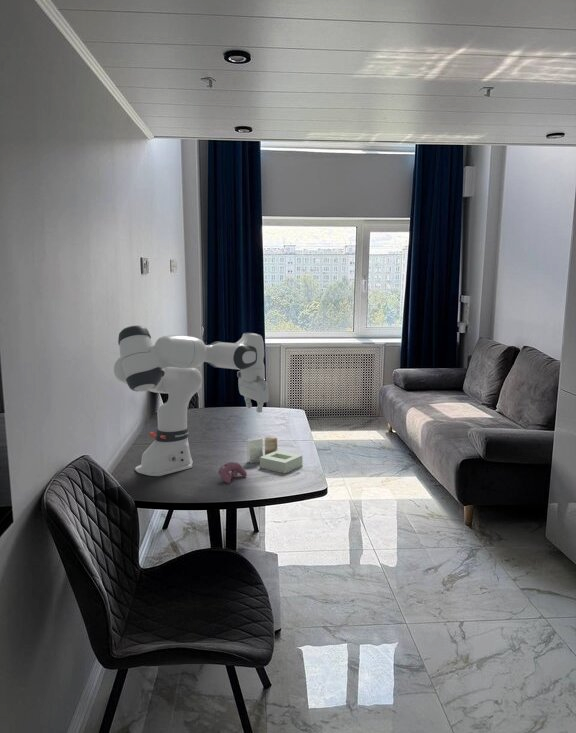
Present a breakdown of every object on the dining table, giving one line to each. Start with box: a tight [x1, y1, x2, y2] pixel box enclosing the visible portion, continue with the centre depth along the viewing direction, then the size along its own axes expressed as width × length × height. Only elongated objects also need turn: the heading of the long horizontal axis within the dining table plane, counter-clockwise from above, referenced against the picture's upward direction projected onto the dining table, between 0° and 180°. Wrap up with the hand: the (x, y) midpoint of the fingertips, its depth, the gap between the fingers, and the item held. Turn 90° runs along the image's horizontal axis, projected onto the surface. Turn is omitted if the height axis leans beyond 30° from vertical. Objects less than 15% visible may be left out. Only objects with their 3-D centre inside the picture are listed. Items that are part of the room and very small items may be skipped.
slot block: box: [259, 449, 303, 474], centre depth 225 cm, size 11×12×4 cm
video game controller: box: [218, 461, 248, 485], centre depth 212 cm, size 10×5×7 cm, turn 141°
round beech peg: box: [264, 436, 278, 455], centre depth 236 cm, size 5×5×8 cm
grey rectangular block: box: [246, 437, 264, 464], centre depth 231 cm, size 2×6×9 cm, turn 118°
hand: (254, 409), depth 229 cm, fingers open, 8 cm apart
